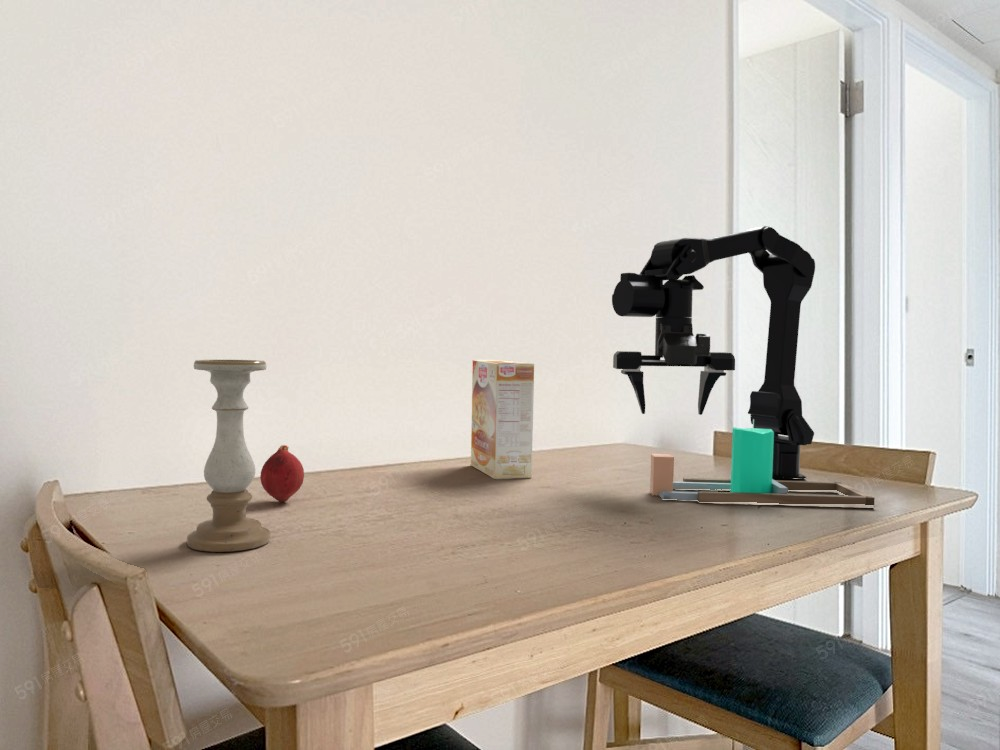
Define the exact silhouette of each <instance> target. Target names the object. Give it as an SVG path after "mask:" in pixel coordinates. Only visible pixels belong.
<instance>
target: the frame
mask: <svg viewBox="0 0 1000 750" xmlns="http://www.w3.org/2000/svg"><path fill="white" fill-rule="evenodd" d="M674 467H675V456H673V455H672V454H671V453H669V454H667V453H664V454H663V453H651V454H650V476H649V477H650V485H649V493H650V492H651V493H652V494H653V495H659V496H660V497H661V498H662V499H677V500H698V491H674V490H673V489H710V490H715V489H716V490H717V489H721V490H722V489H731V483H706V482H683V481H674V473H675V471H674V469H675V468H674ZM651 493H650V494H651ZM772 493H776V494H789V492H788V488H787V487H785V486H784V485H782V484H780V483H778V482H777V481H775V479H774V478H772ZM652 494H651V495H652ZM653 495H652V496H653ZM659 496H658V497H659ZM660 497H659V498H660ZM661 498H660V499H661ZM662 499H661V500H662Z"/></svg>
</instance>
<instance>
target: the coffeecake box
mask: <svg viewBox="0 0 1000 750" xmlns="http://www.w3.org/2000/svg"><path fill="white" fill-rule="evenodd" d="M534 380H535V363H529V362H521V361H512V360H499V359H498V360H497V359H473V360H472V380H471V381H472V382H471V383H472V384H471V385H472V386H471V391H472V393H471V395H472V396H471V435H470V436H471V438H470V439H471V447H470V449H471V450H470V454H471V455H470V466H471V467H473V468H475V469H476V470H478V471H480V472H482V473H483V474H486V475H487V476H488V477H490V478H492V479H494V480H510V479H512V480H513V479H514V480H515V479H531V478H533V435H534V434H533V431H534V391H535V389H534V386H535V385H534V384H535V381H534Z"/></svg>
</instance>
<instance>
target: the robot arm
mask: <svg viewBox="0 0 1000 750" xmlns="http://www.w3.org/2000/svg"><path fill="white" fill-rule="evenodd" d="M746 254H749V255H750V257H751V260H752V264H753V266H754V267H755V268H756V269H757V270H758V271H759V272H760V273H762V277H763V279H762V281H763V288H764V290H765V293H766V295H767V297H768V298H769V300H770V310H769V311H770V312H769V321H768V333H767V343H766V344H767V345H766V356H765V357H766V358H765V367H764V368H765V369H764V380H763V383H762V384H761V386H760V387H759V389H758V390H757V391H756V390H752V391H751V392H750V395H749V402H750V403H749V409H748V412H747V414H748V415H750V423H751V425H753V419H754V428H759V429H772V431H773V432H774V445H773V472H772V479H780V478H806V479H807V476H806V475H804V474H802V473H801V472H800V470H801V469H800V468H801V466H800V465H801V463H800V462H801V446H807V445H812V443H813V440H814V436H815V432H814V430H813V429H812V428H811V426H810V425H809V423H808V422H807V421H806V419H805V418H804V416H803V403H802V399H801V396H800V395H799V392H798V390H797V388H796V386H795V375H796V374H795V373H796V364H797V354H798V353H797V352H798V341H799V330H800V317H801V308H802V307H801V304H802V302H803V300H804V299H805V297H806V296H807V294H808V293H809V291H810V290H811V289H812V286H813V280H814V276H815V272H816V261H815V259H814V258H813V257H812V255H811V254H810V252H809V251H807V250H805V249H804V248H803V247H802V246H800V244H799V243H797V242H795V241H793V240H791V239H789V238H787V237H784V236H783V235H781V234H780V233H779V232H778V231H777V230H776V229H775V228H773V227H770V226H768V225H763V226H757V227H751V228H748V229H746V230H744V231H738V232H734V233H731V234H725V235H721V236H716V237H710V238H702V237H682V238H677V239H669V240H664V241H663V240H662V241H660V242H657V243H655V244H654V246H653V249H652V251H651V255H650V257H649V259H648V260H647V262H646V264H645V265H644V266H643V268H642V270H641V271H640V273H639V274H638V273H636V272H623V273H622V272H621V273H620V280H619V282H618V283H617V284H616V285H615V287H614V290H613V294H612V295H611V305H612V308H613V311H614V312H615V313H616V315H617V316H619V317H627V318H628V317H633V318H635V317H638V318H653V317H655V338H654V339H655V341H654V345H655V346H654V350H655V351H654V354H653V355H649V354H648V355H646V354H642V352H641V351H636V350H635V351H634V350H633V351H632V350H631V351H627V350H625V351H624V350H620V351H619V350H618V351H616V352H614V354H613V359H612V361H613V362H612V363H613V364H612V368H613V369H616V370H620V373H621V374H623V375H626V376H627V377H628V380H629V381H630V383H631V386H632V389H633V391H634V393H635V397H636V400H637V403H638V406H639V409H640V412H641V414H642V415H645V414H646V400H645V399H646V398H645V397H646V396H645V387H644V371H642V370H641V368H642V367H698V368H699V367H702V368H704V369H703V370H700V375H699V385H698V388H699V389H698V397H697V398H698V400H697V412H698V415H700V416H702V415H703V413H704V410H705V408H706V405H707V404H708V399H709V397H710V394H711V392H712V389H713V388H714V386H715V384H716V382H717V381H718V380H719V378H720V377H722V376H723V377H725V376H727V372H725V371H735V370H736V358H735V355H734V354H733V353H732V352H725V351H724V352H721V351H720V352H718V351H715V352H714V351H712V352H711V335H710V334H709V333H701V332H700V333H696V335H694V332H693V291H703V289H704V285H703V284H702V282H700V281H699V280H698V279H697V277H696V276H695V275H694V274H693V273H695V272H698V271H700V270H702V269H704V268H706V266H708V265H709V264H710V263H712V262H714V261H718V260H724V259H727V258H732V257H735V256H736V257H737V256H740V255H746ZM683 275H684V277H683V278H682V276H683ZM680 278H682V279H680ZM664 281H665V282H664ZM661 358H663V359H661Z"/></svg>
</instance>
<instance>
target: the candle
mask: <svg viewBox="0 0 1000 750" xmlns="http://www.w3.org/2000/svg"><path fill="white" fill-rule="evenodd" d="M731 437H732V440H731V444H732V445H731V461H730V462H731V465H730V466H731V467H730V468H731V469H730V479H731V490H730V492H741V493H772V479H773V478H772V472H773V445H774V432H773V431H772V429H759V428H754V419H753V424H752V428H737V427H734V426H733V427H732V436H731Z"/></svg>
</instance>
